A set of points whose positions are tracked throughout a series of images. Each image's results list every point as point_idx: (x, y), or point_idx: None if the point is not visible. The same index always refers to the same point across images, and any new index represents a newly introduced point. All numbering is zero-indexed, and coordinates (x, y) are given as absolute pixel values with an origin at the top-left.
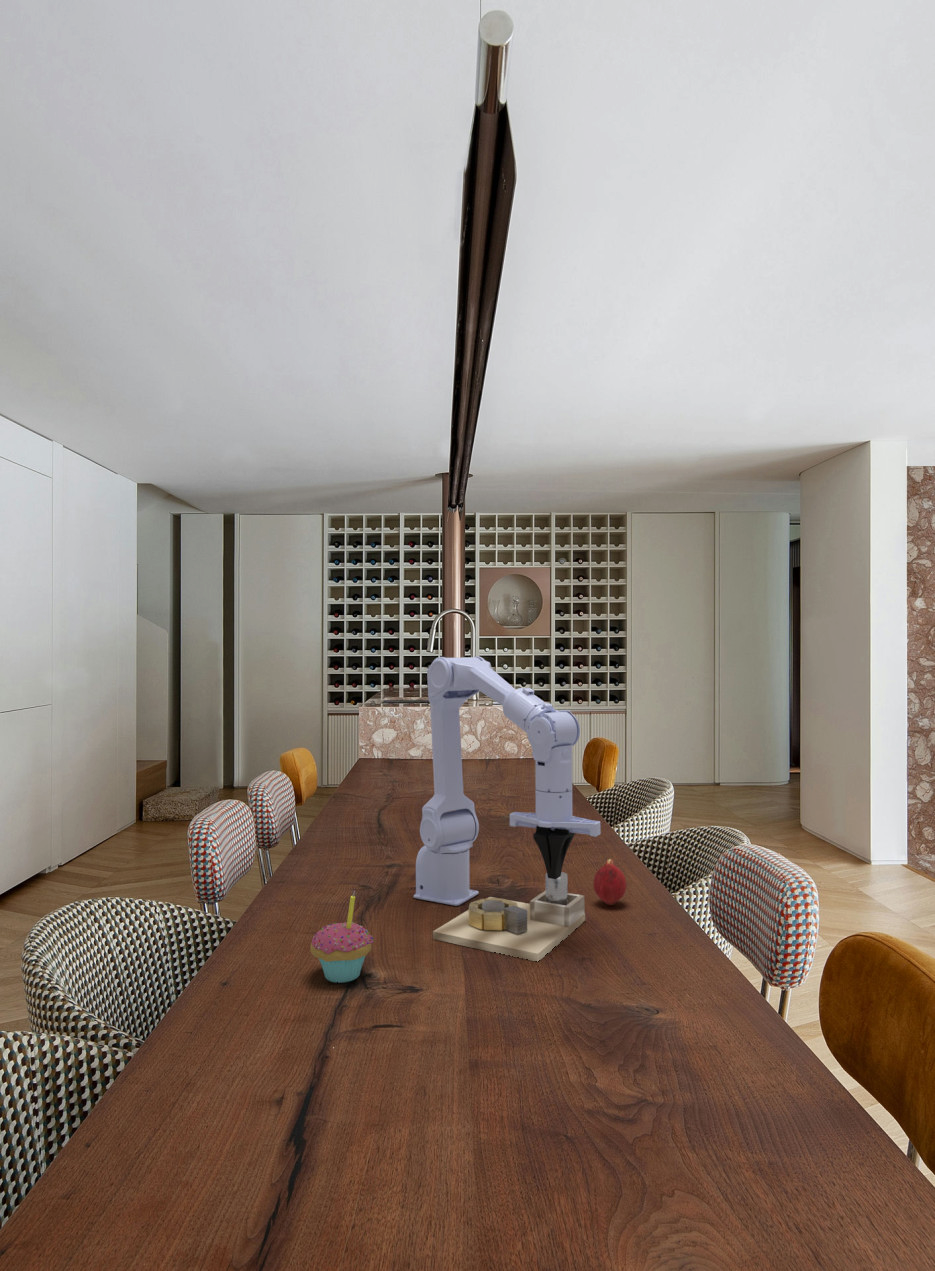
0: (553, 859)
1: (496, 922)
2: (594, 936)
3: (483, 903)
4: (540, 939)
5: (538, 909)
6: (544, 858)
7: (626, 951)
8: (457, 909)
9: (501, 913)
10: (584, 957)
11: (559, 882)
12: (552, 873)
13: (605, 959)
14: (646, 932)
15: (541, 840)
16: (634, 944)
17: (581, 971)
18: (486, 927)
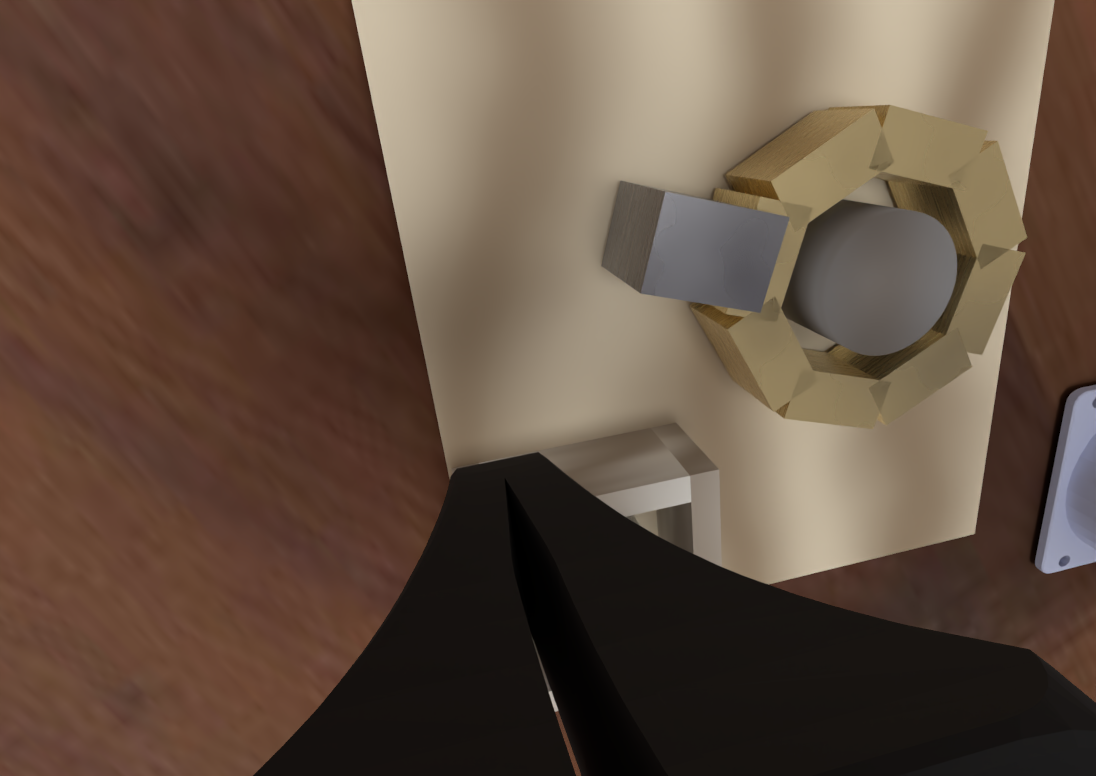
0: (473, 568)
1: (774, 156)
2: (331, 511)
3: (947, 252)
4: (473, 211)
5: (648, 461)
6: (622, 529)
7: (65, 456)
8: (1053, 368)
9: (784, 205)
10: (185, 239)
11: None
12: (485, 476)
13: (72, 290)
14: (163, 703)
15: (796, 699)
16: (101, 555)
17: (48, 31)
18: (810, 119)
